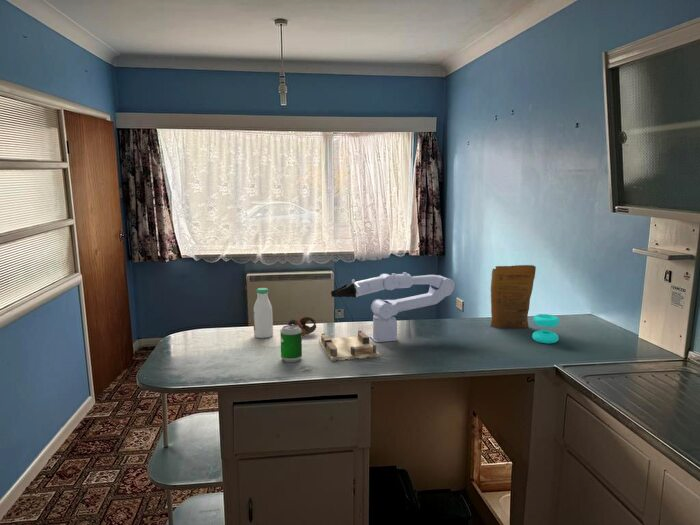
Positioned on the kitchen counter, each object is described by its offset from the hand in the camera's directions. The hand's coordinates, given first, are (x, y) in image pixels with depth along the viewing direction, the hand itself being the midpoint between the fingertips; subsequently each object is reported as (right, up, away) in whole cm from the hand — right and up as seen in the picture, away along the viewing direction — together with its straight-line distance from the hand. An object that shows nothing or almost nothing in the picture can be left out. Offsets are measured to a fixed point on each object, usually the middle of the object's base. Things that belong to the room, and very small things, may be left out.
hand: (333, 294), depth 192 cm
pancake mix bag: (+77, -16, +26) cm, 83 cm away
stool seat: (+5, -21, -3) cm, 22 cm away
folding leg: (-3, -19, -1) cm, 19 cm away
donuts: (+85, -19, +8) cm, 88 cm away
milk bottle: (-30, -18, +14) cm, 37 cm away
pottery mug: (-14, -18, +17) cm, 28 cm away
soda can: (-15, -23, -14) cm, 30 cm away
